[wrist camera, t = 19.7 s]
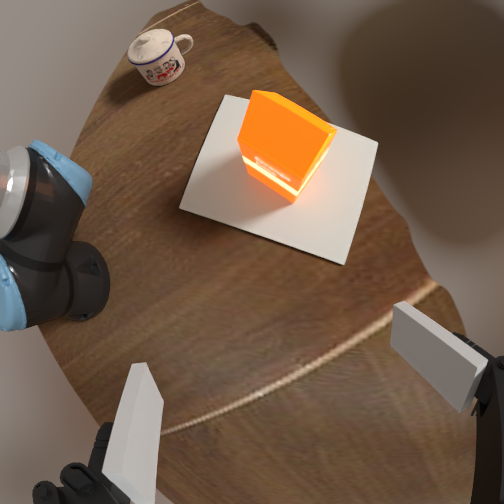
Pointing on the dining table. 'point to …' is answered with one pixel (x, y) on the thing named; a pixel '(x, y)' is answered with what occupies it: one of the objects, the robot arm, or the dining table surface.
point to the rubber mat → (272, 203)
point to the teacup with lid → (158, 56)
